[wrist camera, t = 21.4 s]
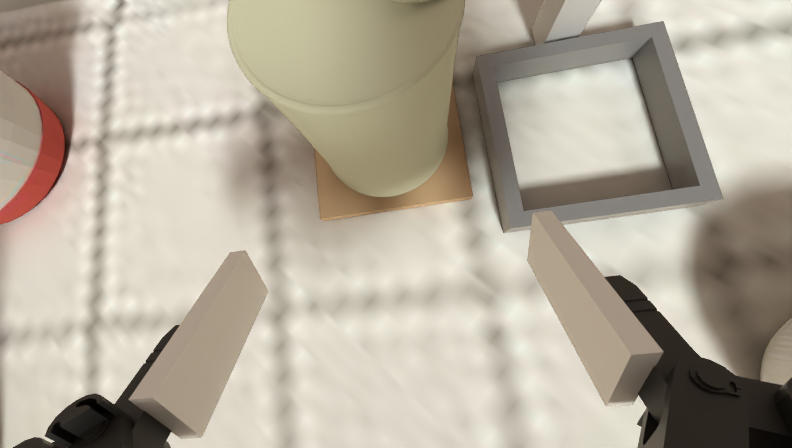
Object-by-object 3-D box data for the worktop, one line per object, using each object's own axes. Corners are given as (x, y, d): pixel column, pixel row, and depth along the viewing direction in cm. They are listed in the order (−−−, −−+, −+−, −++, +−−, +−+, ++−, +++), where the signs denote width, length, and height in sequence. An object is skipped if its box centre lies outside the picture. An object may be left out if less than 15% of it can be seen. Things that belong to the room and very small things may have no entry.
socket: (632, 9, 23) (942, -400, 9) (694, 206, 20) (1284, 50, 6) (466, 41, 24) (516, -281, 10) (503, 232, 21) (642, 149, 7)
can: (452, 192, 21) (481, 91, 10) (325, 202, 22) (207, 119, 10) (443, 74, 23) (458, -139, 11) (324, 87, 24) (222, -97, 12)
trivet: (447, 64, 24) (448, 57, 23) (471, 199, 22) (473, 196, 21) (312, 89, 25) (308, 83, 24) (323, 220, 23) (320, 218, 22)
